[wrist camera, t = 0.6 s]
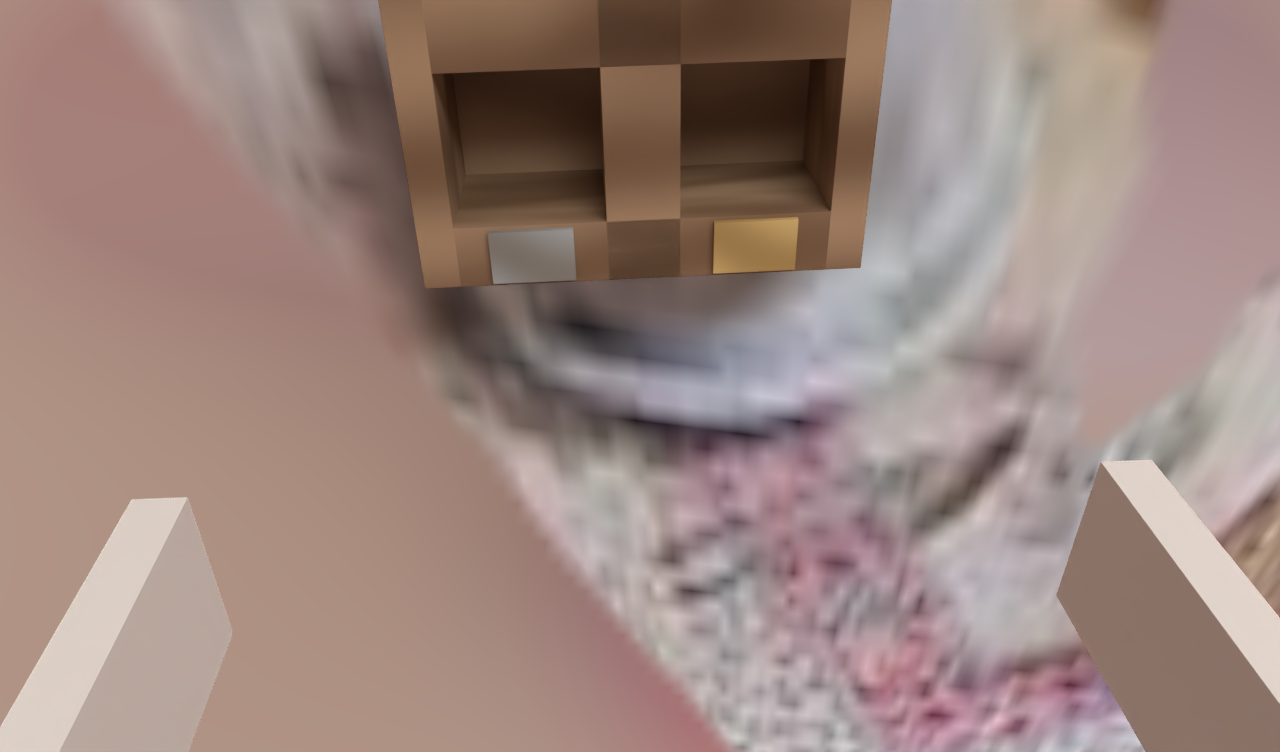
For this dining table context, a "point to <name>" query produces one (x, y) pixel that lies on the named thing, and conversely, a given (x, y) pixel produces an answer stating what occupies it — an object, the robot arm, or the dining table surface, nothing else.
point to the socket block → (635, 135)
